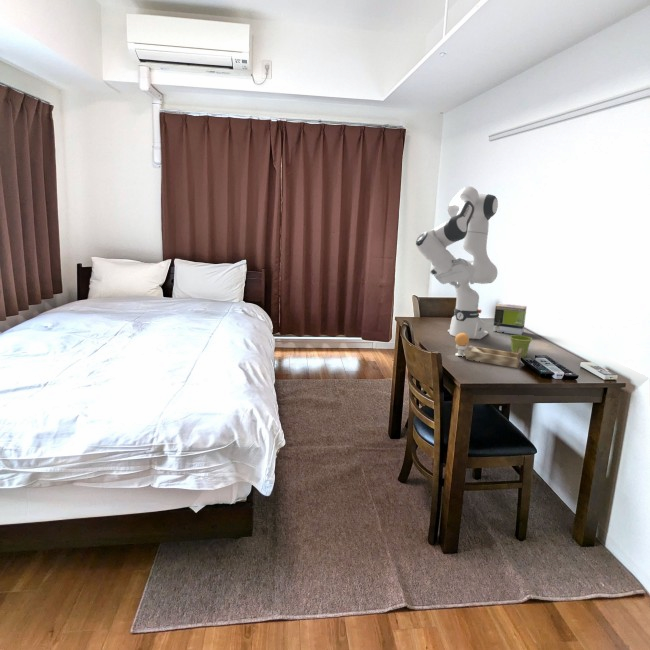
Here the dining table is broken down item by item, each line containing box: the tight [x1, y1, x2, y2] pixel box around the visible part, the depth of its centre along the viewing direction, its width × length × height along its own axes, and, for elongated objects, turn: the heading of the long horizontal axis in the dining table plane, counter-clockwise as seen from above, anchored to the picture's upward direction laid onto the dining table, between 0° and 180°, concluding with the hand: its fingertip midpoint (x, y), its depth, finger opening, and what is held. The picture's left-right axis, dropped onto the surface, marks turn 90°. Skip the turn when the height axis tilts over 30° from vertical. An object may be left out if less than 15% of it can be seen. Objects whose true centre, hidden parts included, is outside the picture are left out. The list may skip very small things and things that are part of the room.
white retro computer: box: [492, 302, 527, 336], centre depth 262 cm, size 15×10×15 cm, turn 62°
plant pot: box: [509, 334, 533, 358], centre depth 219 cm, size 9×9×9 cm
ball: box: [454, 333, 470, 346], centre depth 215 cm, size 6×6×6 cm
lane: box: [465, 345, 522, 369], centre depth 210 cm, size 22×9×7 cm, turn 64°
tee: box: [455, 344, 468, 358], centre depth 216 cm, size 4×4×5 cm
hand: (465, 285), depth 210 cm, fingers open, 8 cm apart
